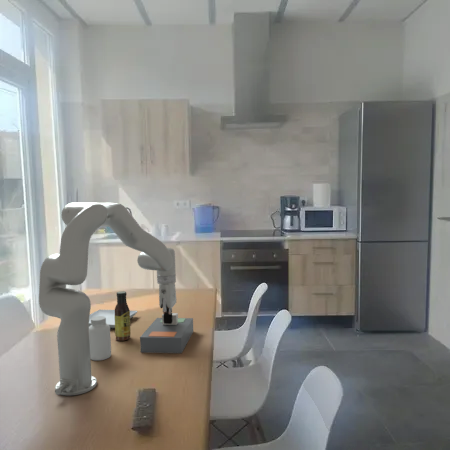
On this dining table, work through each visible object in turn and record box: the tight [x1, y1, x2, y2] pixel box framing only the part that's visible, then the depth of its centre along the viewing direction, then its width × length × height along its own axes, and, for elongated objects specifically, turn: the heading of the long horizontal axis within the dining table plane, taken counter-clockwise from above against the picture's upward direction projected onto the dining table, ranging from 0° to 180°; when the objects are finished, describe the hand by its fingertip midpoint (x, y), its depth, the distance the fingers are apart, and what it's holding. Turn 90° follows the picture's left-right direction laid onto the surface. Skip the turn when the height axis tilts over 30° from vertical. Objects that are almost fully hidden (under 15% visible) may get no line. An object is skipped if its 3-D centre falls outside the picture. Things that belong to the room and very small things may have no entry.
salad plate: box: [89, 309, 138, 329], centre depth 203 cm, size 21×21×3 cm
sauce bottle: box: [114, 290, 131, 342], centre depth 179 cm, size 7×6×20 cm
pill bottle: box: [89, 316, 112, 361], centre depth 161 cm, size 8×8×15 cm
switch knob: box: [161, 312, 179, 325], centre depth 179 cm, size 3×6×4 cm, turn 83°
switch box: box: [139, 317, 194, 354], centre depth 176 cm, size 24×16×6 cm, turn 173°
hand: (168, 322), depth 175 cm, fingers closed
